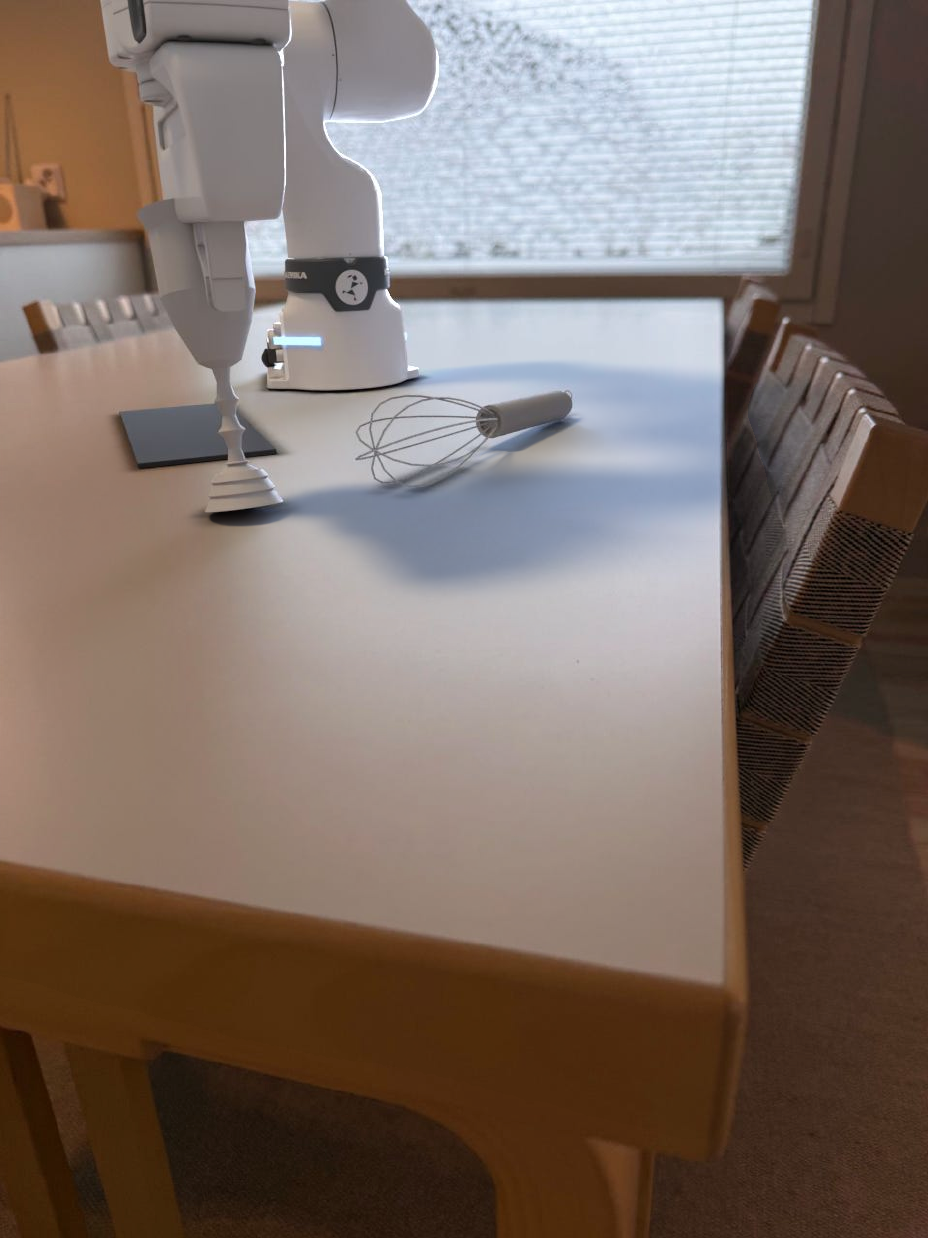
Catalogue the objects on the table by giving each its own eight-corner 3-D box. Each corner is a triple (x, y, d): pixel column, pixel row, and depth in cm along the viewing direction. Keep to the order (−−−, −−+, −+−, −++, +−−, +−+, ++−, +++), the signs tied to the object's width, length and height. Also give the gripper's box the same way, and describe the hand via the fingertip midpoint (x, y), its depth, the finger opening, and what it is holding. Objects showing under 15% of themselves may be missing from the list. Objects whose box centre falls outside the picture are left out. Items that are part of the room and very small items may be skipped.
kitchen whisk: (599, 416, 88) (601, 347, 86) (414, 508, 61) (409, 412, 58) (540, 412, 91) (540, 345, 88) (339, 498, 64) (331, 406, 61)
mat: (119, 415, 95) (119, 411, 95) (227, 405, 99) (227, 402, 99) (138, 468, 73) (137, 463, 73) (276, 453, 76) (276, 448, 76)
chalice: (190, 510, 62) (138, 229, 59) (290, 496, 64) (246, 222, 60) (191, 517, 56) (133, 198, 52) (304, 501, 57) (255, 192, 54)
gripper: (118, 58, 55) (154, 301, 61) (145, -24, 38) (192, 329, 43) (225, 62, 57) (250, 297, 63) (297, -14, 40) (324, 321, 45)
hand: (227, 310), depth 53 cm, fingers closed
